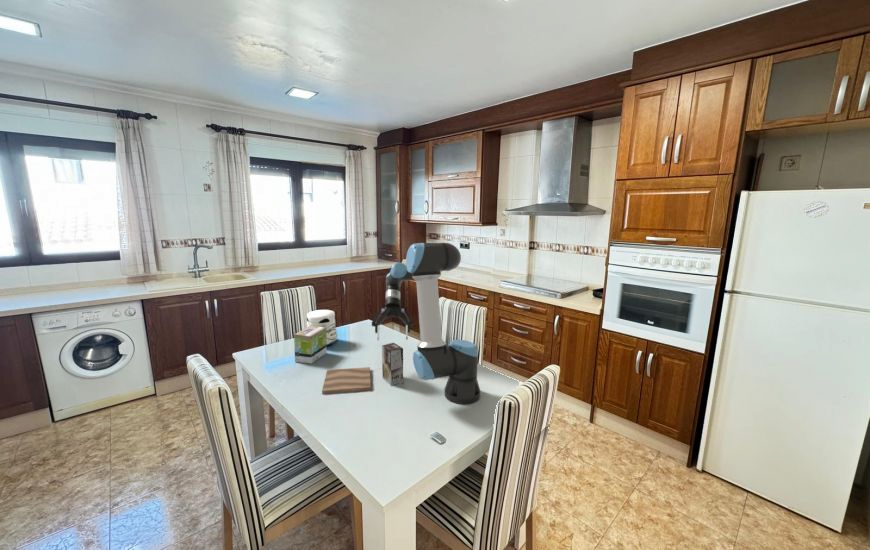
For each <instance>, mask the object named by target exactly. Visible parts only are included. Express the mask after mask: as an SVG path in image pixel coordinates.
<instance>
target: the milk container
mask: <svg viewBox="0 0 870 550" xmlns="http://www.w3.org/2000/svg"><path fill="white" fill-rule="evenodd" d="M335 313H336V312H335V311H334V310H330V309H317V310H313V311H310V312H307V314H306V328H307V327H309V326H315V327H325V328H326V347H327V346H330V345H332V344H334V343H336V342H337V340H338V329H337V328H336V314H335Z"/></svg>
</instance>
